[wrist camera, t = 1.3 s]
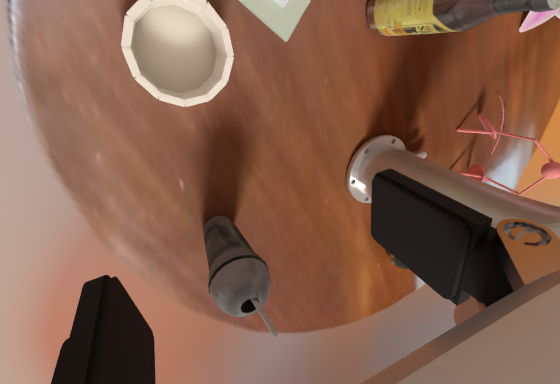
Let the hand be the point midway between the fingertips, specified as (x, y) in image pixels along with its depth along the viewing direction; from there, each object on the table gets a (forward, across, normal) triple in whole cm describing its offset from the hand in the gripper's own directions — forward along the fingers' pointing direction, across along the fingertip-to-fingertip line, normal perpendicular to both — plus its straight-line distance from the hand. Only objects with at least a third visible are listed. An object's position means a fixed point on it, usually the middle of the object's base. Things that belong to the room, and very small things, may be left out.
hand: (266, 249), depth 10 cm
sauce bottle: (+29, -29, -6) cm, 41 cm away
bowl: (+28, -1, -6) cm, 29 cm away
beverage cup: (+29, 0, +18) cm, 34 cm away
